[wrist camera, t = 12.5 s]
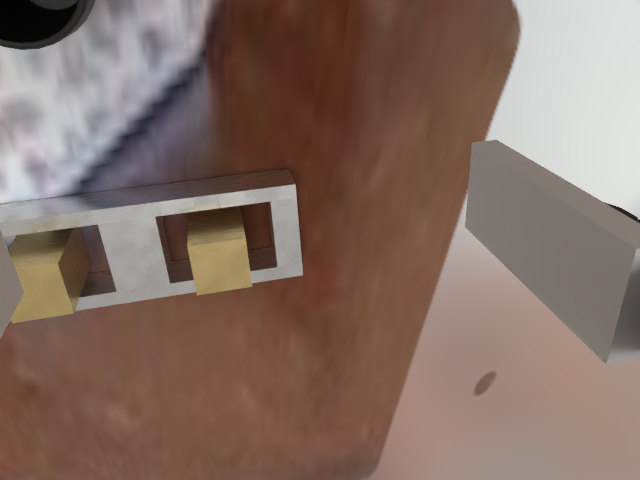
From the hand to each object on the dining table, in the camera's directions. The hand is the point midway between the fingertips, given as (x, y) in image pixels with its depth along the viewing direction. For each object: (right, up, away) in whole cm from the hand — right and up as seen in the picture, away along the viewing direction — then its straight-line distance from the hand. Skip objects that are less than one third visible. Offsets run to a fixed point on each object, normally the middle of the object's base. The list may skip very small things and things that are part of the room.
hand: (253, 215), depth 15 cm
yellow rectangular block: (-8, +1, +34) cm, 35 cm away
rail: (-14, 0, +33) cm, 36 cm away
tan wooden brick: (-21, -1, +32) cm, 39 cm away
